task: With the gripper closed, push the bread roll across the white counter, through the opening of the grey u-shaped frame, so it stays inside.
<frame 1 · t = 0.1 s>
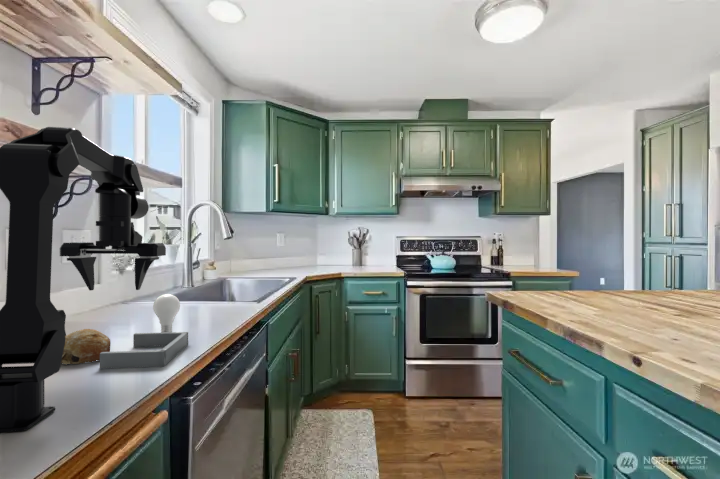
hand: (114, 290, 82), 15 cm above the table, fingers open, 9 cm apart
grey u-shaped frame: (138, 355, 84), on the table
lightbulb: (166, 336, 101), on the table
bread roll: (84, 358, 83), on the table
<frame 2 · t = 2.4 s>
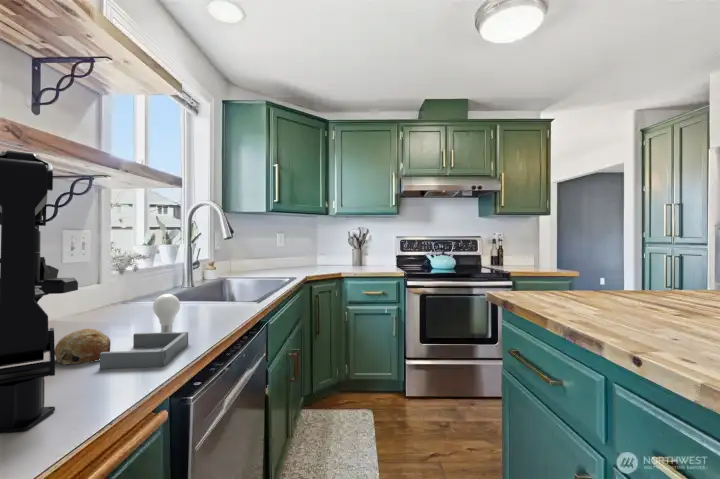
hand: (22, 326, 81), 7 cm above the table, fingers closed
nothing on the table moved.
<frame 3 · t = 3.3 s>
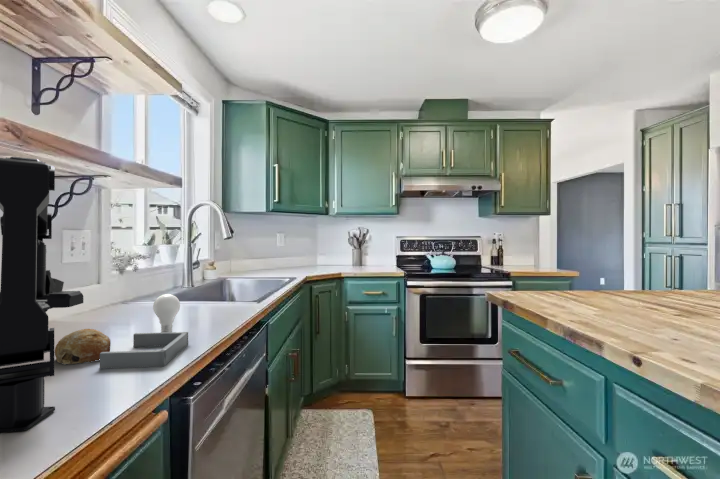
hand: (28, 340, 81), 4 cm above the table, fingers closed
nothing on the table moved.
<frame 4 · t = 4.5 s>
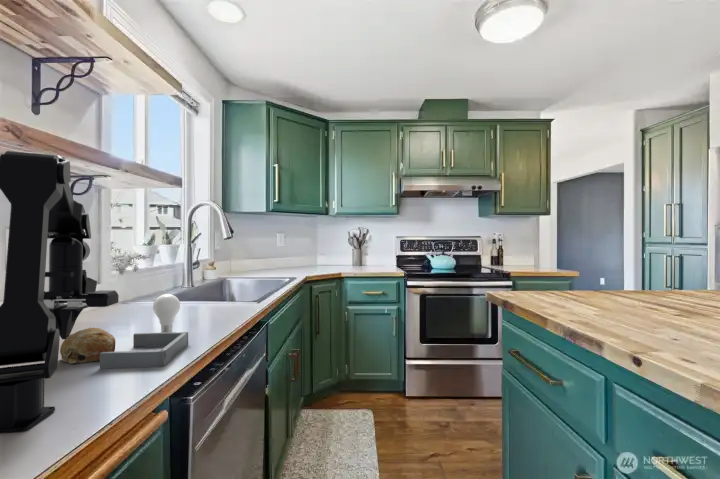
hand: (65, 338, 82), 4 cm above the table, fingers closed
bread roll: (89, 357, 83), on the table, touching gripper
everything else where it was.
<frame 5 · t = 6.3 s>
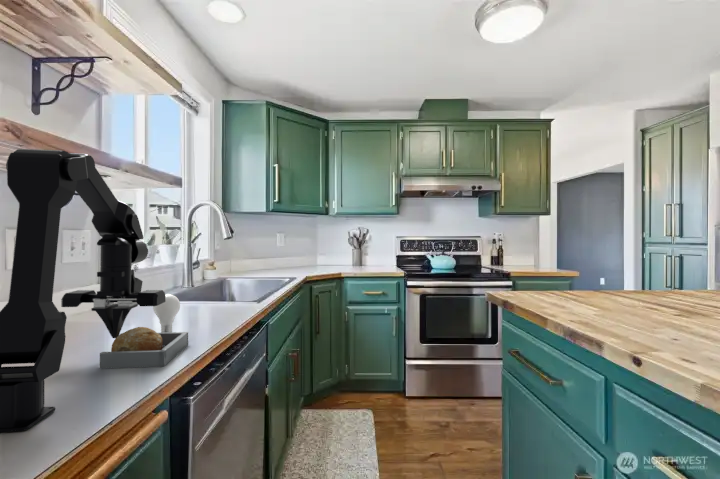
hand: (115, 337, 84), 4 cm above the table, fingers closed
bread roll: (138, 356, 85), on the table, touching gripper
everything else where it was.
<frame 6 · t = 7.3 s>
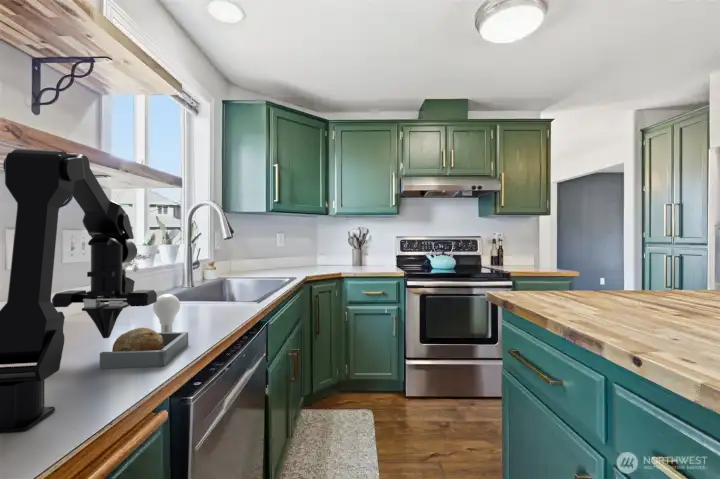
hand: (106, 337, 84), 4 cm above the table, fingers closed
bread roll: (139, 357, 85), on the table
everything else where it was.
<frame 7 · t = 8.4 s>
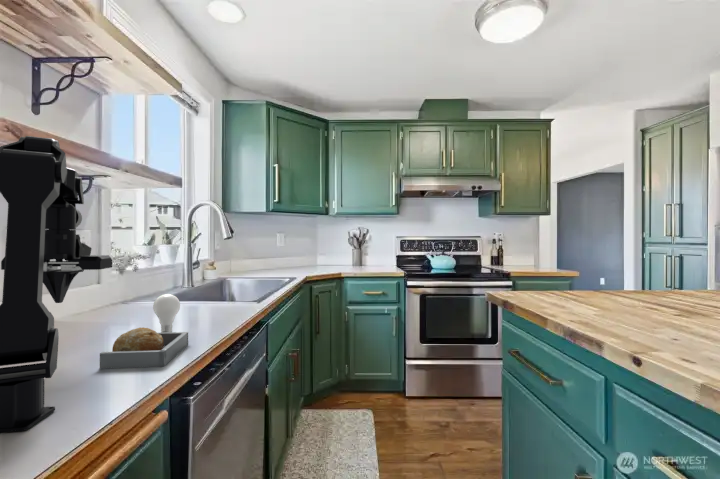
hand: (59, 302, 82), 12 cm above the table, fingers closed
nothing on the table moved.
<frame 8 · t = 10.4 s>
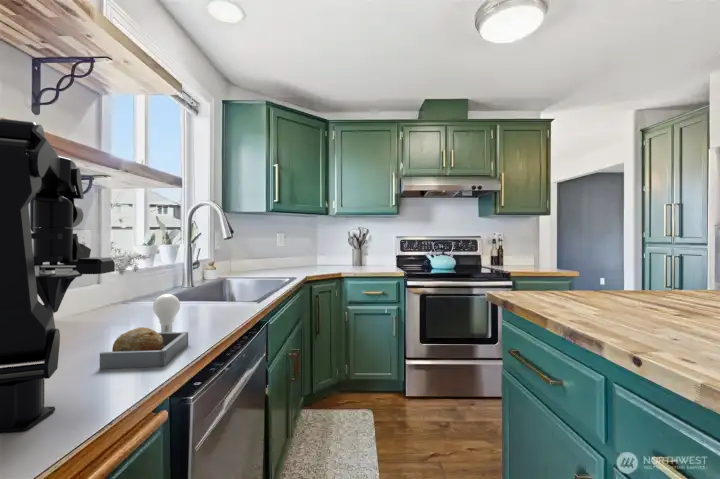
hand: (53, 312, 71), 12 cm above the table, fingers closed
nothing on the table moved.
at the end: bread roll inside the target area on the grey u-shaped frame (0.8 cm from its centre), point 0.0 cm above the grey u-shaped frame's base; the gripper is holding nothing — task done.
